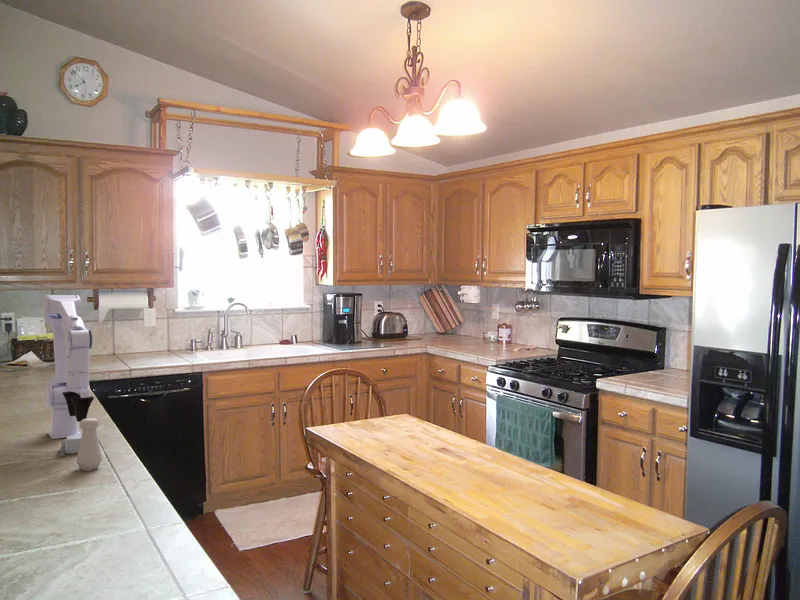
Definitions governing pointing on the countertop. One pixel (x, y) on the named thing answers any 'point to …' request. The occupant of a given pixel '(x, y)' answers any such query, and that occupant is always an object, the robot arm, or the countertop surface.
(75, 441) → the block
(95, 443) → the salt shaker
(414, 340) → the countertop surface
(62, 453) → the grey flat bars
